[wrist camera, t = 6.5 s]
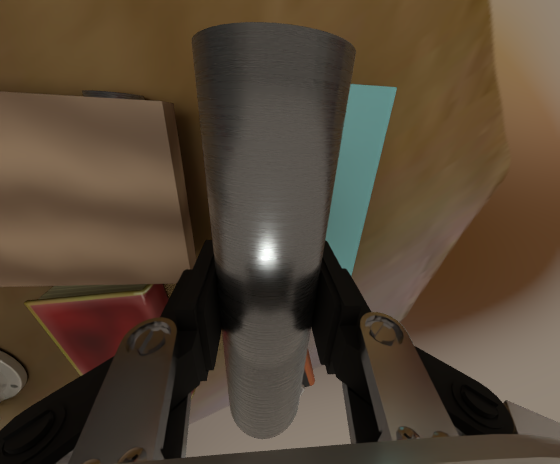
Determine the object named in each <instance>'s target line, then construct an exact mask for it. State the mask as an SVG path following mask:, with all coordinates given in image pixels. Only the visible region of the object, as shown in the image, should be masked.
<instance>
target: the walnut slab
mask: <svg viewBox="0 0 560 464" xmlns="http://www.w3.org/2000/svg"><path fill="white" fill-rule="evenodd" d="M195 263H196V254H195V247H194V240H193V233H192V227H191V220H190V213H189V206H188V200H187V193H186V186H185V179H184V172H183V166H182V159H181V152H180V145H179V139H178V132H177V125H176V118H175V111H174V105H173V103H168V102H163V101H148V100H132V99H115V98H99V97H82V96H65V95H49V94H32V93H16V92H0V287H19V286H73V285H126V284H177V282H178V280H179V279H180V277H181V275H182V273H183V271H184V270H186V269H193V267H194V265H195Z"/></svg>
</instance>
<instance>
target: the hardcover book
mask: <svg viewBox="0 0 560 464" xmlns="http://www.w3.org/2000/svg"><path fill="white" fill-rule="evenodd" d="M168 300H169V299H168V297H167V294H166V291H165V289H164V286H163V284H126V285H73V286H54V287H53V288H51V289H50V290H49V291H48V292H46V293H45V294H44V295H43V296H41V297H40V298H39V299H36V300H27V301H26V302H25V303H24V304H25V305H26V307H27V308H28V309H29V311H30V312H31V313H32V314H33V316H34V317H35V318H36V320H37V321H38V322H39V323H40V325H41V326H42V327H43V328H44V330H45V331H46V332H47V334H48V335H49V336H50V337H51V339H52V340H53V341H54V342H55V344H56V345H57V346H58V348H59V349H60V350H61V351H62V353H63V354H64V355H65V357H66V358H67V359H68V360H69V362H70V363H71V364H72V365H73V367H74V368H75V369H76V371H77V372H78V373H79V374H80V376H82V375H84V374H85V373H87V372H89V371H90V370H92V369H94V368H95V367H97V366H98V365H100V364H102V363H103V362H105V361H107V360H108V359H110V358H112V357H113V356H115V354H116V351H117V349H118V347H119V344H120V342H121V341H122V339H123V337H124V336H125V334H126V333H127V332H128V331H129V330H130V329H132V328H133V327H135V326H136V325H137V324H139V323H141V322H143V321H145V320H148V319H152V318H160V316H161V314H162V312H163V310H164V308H165V306H166V304H167V302H168ZM195 389H196V388H195ZM195 389H194V390H193V391H192V392H191V399H192V397H193V395H194V392H195Z"/></svg>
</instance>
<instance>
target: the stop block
mask: <svg viewBox="0 0 560 464" xmlns="http://www.w3.org/2000/svg"><path fill="white" fill-rule="evenodd" d="M396 90H397V87H384V86H370V85H356V84H351V85H350V91H349V97H348V103H347V109H346V116H345V122H344V128H343V134H342V140H341V146H340V152H339V159H338V165H337V171H336V177H335V183H334V189H333V196H332V202H331V208H330V214H329V220H328V226H327V232H326V239H325V241H327V242H328V243H329V245H330V247H331V249H332V251H333V253H334V255H335V256H336V258H337V260H338V262H339V264H340V266H341V268H345V269H347V270H348V272H349V274H350V275H352V271H353V267H354V263H355V259H356V255H357V250H358V246H359V242H360V238H361V234H362V230H363V226H364V222H365V217H366V213H367V209H368V205H369V201H370V197H371V193H372V189H373V184H374V180H375V176H376V172H377V168H378V164H379V160H380V156H381V151H382V147H383V143H384V139H385V135H386V131H387V127H388V123H389V119H390V114H391V110H392V106H393V102H394V98H395V94H396Z"/></svg>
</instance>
